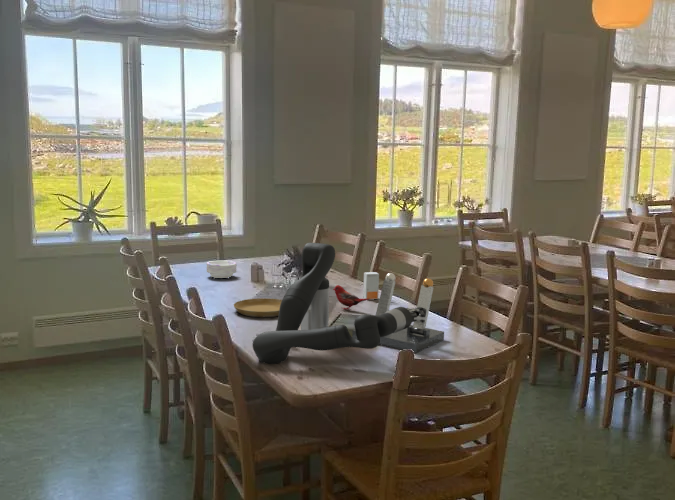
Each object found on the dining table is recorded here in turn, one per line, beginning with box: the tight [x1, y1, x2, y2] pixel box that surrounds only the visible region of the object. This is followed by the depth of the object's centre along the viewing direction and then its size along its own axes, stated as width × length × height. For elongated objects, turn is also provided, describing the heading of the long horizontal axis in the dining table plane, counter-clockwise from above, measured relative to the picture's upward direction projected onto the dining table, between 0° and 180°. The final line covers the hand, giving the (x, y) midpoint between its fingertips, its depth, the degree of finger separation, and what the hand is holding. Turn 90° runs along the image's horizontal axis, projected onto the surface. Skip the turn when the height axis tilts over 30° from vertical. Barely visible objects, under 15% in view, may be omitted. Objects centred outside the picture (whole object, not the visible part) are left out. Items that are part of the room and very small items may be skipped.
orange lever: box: [410, 277, 435, 336], centre depth 226 cm, size 4×5×20 cm
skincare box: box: [362, 271, 380, 301], centre depth 291 cm, size 6×4×12 cm
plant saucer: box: [233, 297, 282, 318], centre depth 265 cm, size 24×24×3 cm
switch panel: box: [351, 324, 445, 354], centre depth 230 cm, size 20×26×6 cm
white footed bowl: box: [206, 260, 237, 279], centre depth 332 cm, size 15×15×8 cm
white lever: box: [375, 272, 396, 315], centre depth 236 cm, size 4×5×20 cm
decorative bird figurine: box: [332, 284, 370, 311], centre depth 269 cm, size 3×18×10 cm, turn 59°
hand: (421, 310), depth 225 cm, fingers closed
